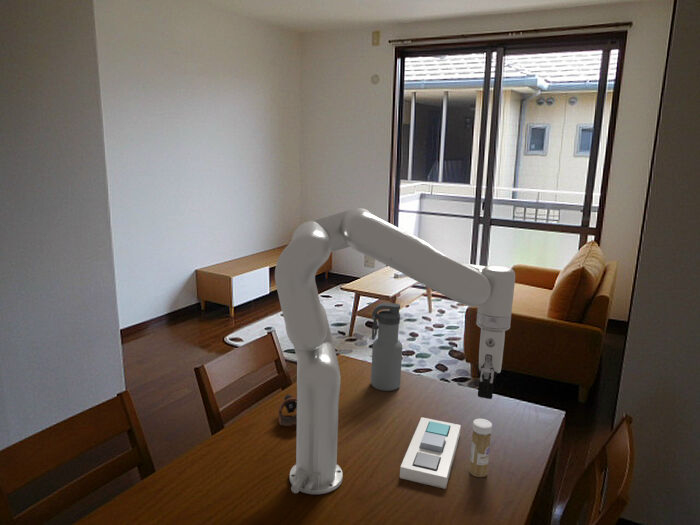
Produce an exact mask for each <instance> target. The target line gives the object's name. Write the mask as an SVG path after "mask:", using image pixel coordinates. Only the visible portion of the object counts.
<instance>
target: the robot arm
mask: <svg viewBox="0 0 700 525" xmlns="http://www.w3.org/2000/svg"><path fill="white" fill-rule="evenodd" d="M291 236H292V237H291V242H289V243H288V245H287V246H285V248H284V249H283V250H282V251H281V253H280V255H279V257H278V259H277V261H276V265H275V269H274V281H275V287H276V291H277V294H278V299H279V305H280V309H281V312H282V316H283V320H284V325H285V331H286V335H287V337H288V340H289V341H290V343H291V344H292V346H293V349H294V352H295V356H296V362H297V363H296V364H297V365H296V398H297V401H296V402H297V409H296V414H297V424H296V441H295V442H296V449H295V450H296V452H295V453H296V455H295V457H296V458H295V459H296V460H295V461H296V462H295V464H294V465H293V466H292V467H291V469H290V471H289V478H288V479H289V482H290V484H291V487H290V489H291V492H292V493H293V494H297V493H299V492H301V493H303V494H307V495H324V494H328V493H330V492H333V491H335V490H336V489H338V488H339V487H340V486H341V484H342V482H343V476H344V475H343V474H344V473H343V470H342V468H341V467H340V465H339V464H337V463H338V461H337V458H338V457H337V456H338V434H339V427H338V426H339V405H340V404H339V400H340V392H341V370H340V366H339V365H340V364H339V360H338V357H337V352H336V347H335V344H334V340H333V336H332V332H331V328H330V324H329V320H328V315H327V312H326V309H325V307H324V306H323V304H322V303H321V300H320V296H319V292H318V287H317V283H316V274H317V272H318V270H319V269H320V268H321V267H323V265H324V264H326V262H327V261H328V260H329V259H330V258H329V257H330V256H331V253H334V252H337V251H342V250H343V249H346V248H351V249H352V250H355V251H356V252H358V253H360V254H363V255H364V256H367V257H368V258H370V259H372V260H375V261H377V262H378V263H381V264H383V265H386V266H387V267H389V268H391V269H392V270H393V269H394V270H396V271H397V272H399V273H401V274H403V275H405V276H406V277H408V278H410V279H412V280H414V281H416V282H418V283H420V284H422V285H425V286H426V287H428V288H429V289H431V290H434V291H435V292H437V293H439V294H440V295H443V296H445V297H446V298H449V299H451V300H453V301H455V302H457V303H458V304H459V303H460V304H462V305H464V306H466V307H471V308H472V307H473V308H474V307H477V310H476V312H477V313H476V321H475V322H476V323H475V324H476V325H477V327H479V328H480V335H479V336H480V337H479V348H478V350H479V351H478V369H479V371H480V378H479V380H478V388H477V397H478V398H482V399H488V400H492V399H493V394H494V384H495V383H494V382H495V381H496V375H497V374H500V373H501V371H502V367H503V366H502V365H503V358H504V348H505V341H506V340H505V339H506V338H505V337H506V331H508V330H510V329H511V321H512V310H513V302H514V301H513V300H514V293H515V284H516V273H515V270H514V269H513V268H512V267H509V266H504V265H496V264H494V265H493V264H492V265H477V264H472V263H464V262H457V261H456V260H454V259H452V258H450V257H449V256H447V255H445V254H444V253H442V252H440V251H439V250H437V249H436V248H435V247H433V246H432V245H431V244H429V243H428V242H427V241H425V240H424V239H422V238H420V237H418V236H416V235H414V234H412V233H410V232H408V231H406V230H404V229H402V228H400V227H398V226H396V225H394V224H392V223H390V222H388V221H386V220H384V219H383V218H380V217H379V216H377V215H374V214H373V213H372V212H371V211H369V210H368V209H365V208H361V207H356V208H349V209H347V210H343V211H339V212H337V213H334V214H330V215H326V216H322V217H319V218H316V219H312V220H309V221H305V222H303V223H301V224H300V225H299V226H298V227H297V228H296V229H295V230H294V232H293V234H292V235H291Z"/></svg>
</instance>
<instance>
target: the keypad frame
mask: <svg viewBox="0 0 700 525" xmlns="http://www.w3.org/2000/svg"><path fill="white" fill-rule="evenodd" d="M430 421H432V422H436V423H441V424H446V425H450V427H449V434H448V437H445V445H444V449H443V452H442V453H439V452H435V451H430V450H426V449H421V448H420V445H421V440H422V438H423V435H424V433H425V432H426V431H427V428H428V426H429V423H430ZM461 426H462V425H461V424H456V423H452V422H447V421H443V420H437V419H432V418H427V417H422V416H421V417H420V420H419V422H418V424H417V427H416V428H415V431H414V434H413V436H412V439H411V441H410V443H409V446H408V448H407V451H406V452H405V455H404V457H403V460H402V463H401V464H400V467H399V468H400V469H399V478H400V479H403V480H406V481H410V482H415V483H419V484H423V485H429V486H432V487H436V488H440V489H444V490H446V489H447V485H448V482H449V478H450V474H451V470H452V467H453V464H454V458H455V456H456V451H457V447H458V443H459V439H460V436H461ZM418 452H421V453H426V454H430V455H435V456H439V457H440V462H439V467H438V470H437V471H433V470H429V469H424V468H420V467H416V466H414V462H415V459H416V457H417V454H418Z"/></svg>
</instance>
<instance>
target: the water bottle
mask: <svg viewBox="0 0 700 525" xmlns="http://www.w3.org/2000/svg"><path fill="white" fill-rule="evenodd" d="M400 310H401V304H400V303H393V302H382V303H379V304H377V305H376V306H375V307H374V309H373V311H372V314H371V319H372V320H373V324H372V327H371V340H372V341H373V342H372V350H371V351H372V353H371V371H370V372H371V374H370V384H371V386H372V387H373V388H375V389H376V390H379V391H381V392H382V391H384V392H391V391H396V390H398V389H399V387H401V380H402V379H401V377H402V376H401V375H402V374H401V373H402V363H403V362H402V359H403V344H402V341H400V340H399V327H400V324H401V314H400ZM377 333H378V334H377ZM376 337H377V338H376Z"/></svg>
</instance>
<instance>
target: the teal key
mask: <svg viewBox="0 0 700 525" xmlns="http://www.w3.org/2000/svg"><path fill="white" fill-rule="evenodd" d="M449 427H450V425H446V424H441V423H436V422H432V421H430V423H429V426H428V428H427V431H426V432H428V433H433V434H438V435H443V436H445V437H448V434H449Z"/></svg>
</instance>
